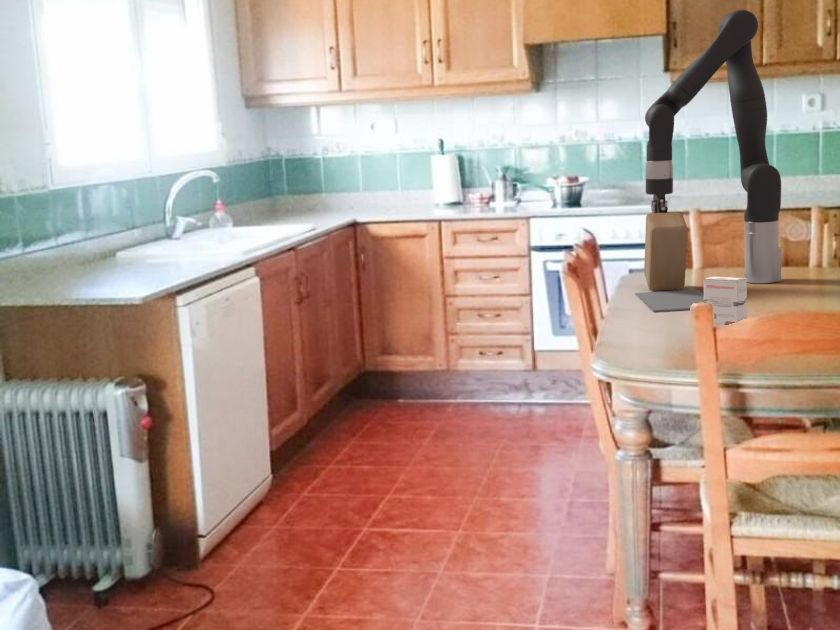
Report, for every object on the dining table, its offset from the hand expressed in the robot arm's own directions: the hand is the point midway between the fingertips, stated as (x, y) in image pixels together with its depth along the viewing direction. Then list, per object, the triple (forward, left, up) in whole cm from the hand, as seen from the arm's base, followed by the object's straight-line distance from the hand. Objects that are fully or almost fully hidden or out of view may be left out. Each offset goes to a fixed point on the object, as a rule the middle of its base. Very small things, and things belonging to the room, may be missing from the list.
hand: (659, 238), depth 299 cm
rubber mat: (0, +23, -14) cm, 27 cm away
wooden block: (0, +3, -12) cm, 13 cm away
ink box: (-3, +62, -14) cm, 64 cm away
